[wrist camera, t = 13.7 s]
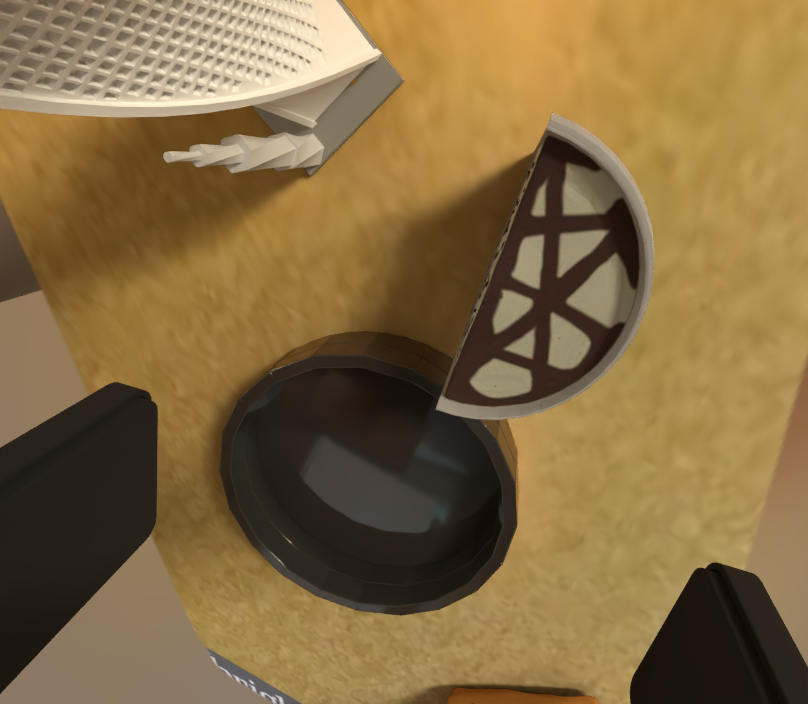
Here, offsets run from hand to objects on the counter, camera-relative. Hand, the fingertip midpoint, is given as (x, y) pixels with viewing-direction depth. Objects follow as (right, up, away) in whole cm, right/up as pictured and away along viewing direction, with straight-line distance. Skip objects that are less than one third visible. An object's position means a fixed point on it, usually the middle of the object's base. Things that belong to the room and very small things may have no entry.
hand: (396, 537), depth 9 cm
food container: (+8, +8, +19) cm, 23 cm away
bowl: (-2, -4, +27) cm, 27 cm away
